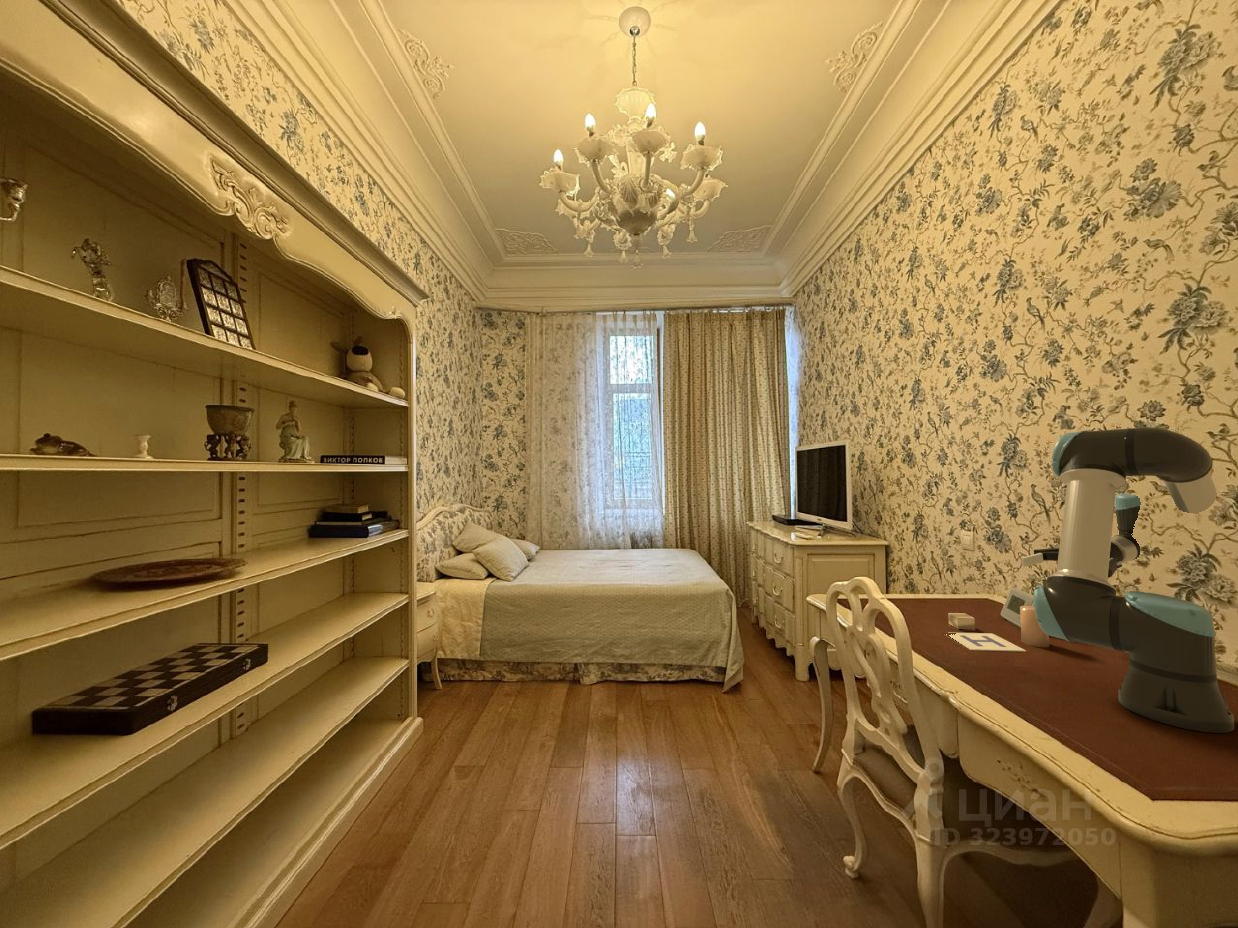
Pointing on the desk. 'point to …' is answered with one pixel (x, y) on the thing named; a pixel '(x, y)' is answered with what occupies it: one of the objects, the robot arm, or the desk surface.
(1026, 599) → the digital clock
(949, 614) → the ash block
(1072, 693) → the desk surface
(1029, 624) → the terracotta canister
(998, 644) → the letter card
